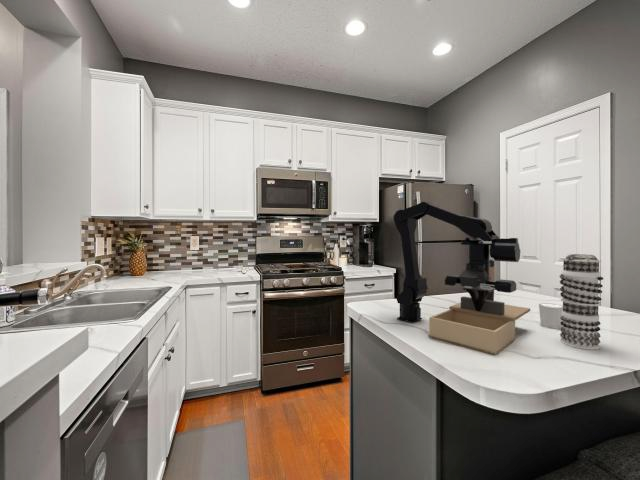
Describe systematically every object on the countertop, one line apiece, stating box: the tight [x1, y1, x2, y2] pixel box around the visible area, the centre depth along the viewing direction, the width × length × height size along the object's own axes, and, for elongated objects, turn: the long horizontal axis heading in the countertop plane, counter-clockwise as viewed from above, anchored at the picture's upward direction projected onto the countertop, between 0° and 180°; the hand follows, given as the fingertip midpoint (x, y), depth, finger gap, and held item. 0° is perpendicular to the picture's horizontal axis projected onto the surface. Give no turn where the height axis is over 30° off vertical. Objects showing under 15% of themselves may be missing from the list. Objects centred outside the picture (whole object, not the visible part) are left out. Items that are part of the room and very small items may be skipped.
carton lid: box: [448, 296, 531, 322], centre depth 98 cm, size 19×17×4 cm
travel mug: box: [478, 259, 495, 301], centre depth 123 cm, size 8×8×20 cm
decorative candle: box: [559, 253, 604, 351], centre depth 84 cm, size 9×9×25 cm
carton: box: [428, 309, 516, 356], centre depth 89 cm, size 18×16×6 cm
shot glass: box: [538, 302, 563, 330], centre depth 100 cm, size 7×7×7 cm
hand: (478, 311), depth 92 cm, fingers closed
